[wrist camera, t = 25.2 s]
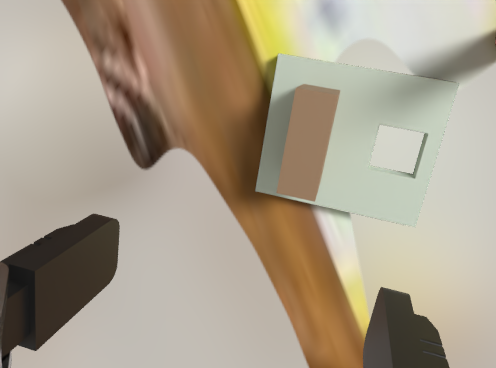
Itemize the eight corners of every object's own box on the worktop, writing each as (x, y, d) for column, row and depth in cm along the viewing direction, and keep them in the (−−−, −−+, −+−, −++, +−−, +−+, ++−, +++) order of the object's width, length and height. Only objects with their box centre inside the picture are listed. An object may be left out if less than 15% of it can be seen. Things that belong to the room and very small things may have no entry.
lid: (258, 186, 39) (241, 209, 33) (281, 53, 36) (266, 52, 30) (412, 221, 37) (424, 252, 31) (455, 82, 33) (477, 87, 27)
